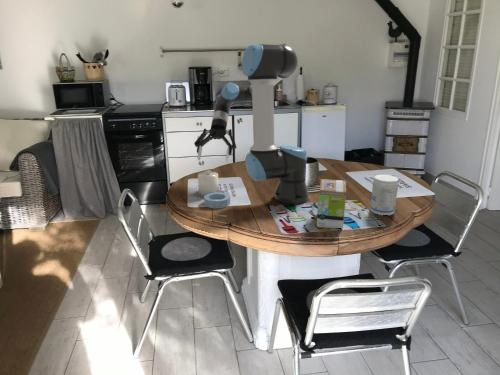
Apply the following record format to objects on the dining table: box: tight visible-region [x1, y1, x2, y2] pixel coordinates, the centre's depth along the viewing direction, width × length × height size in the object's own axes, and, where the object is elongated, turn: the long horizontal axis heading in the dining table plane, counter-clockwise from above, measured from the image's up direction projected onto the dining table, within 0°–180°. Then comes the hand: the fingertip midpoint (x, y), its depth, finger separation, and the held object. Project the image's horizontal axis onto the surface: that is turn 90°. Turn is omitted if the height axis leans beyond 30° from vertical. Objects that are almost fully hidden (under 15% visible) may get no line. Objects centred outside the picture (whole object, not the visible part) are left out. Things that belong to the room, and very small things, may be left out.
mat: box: [190, 189, 227, 199], centre depth 189 cm, size 12×12×1 cm
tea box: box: [316, 178, 347, 230], centre depth 158 cm, size 15×10×15 cm, turn 168°
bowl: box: [203, 192, 231, 209], centre depth 176 cm, size 11×11×4 cm
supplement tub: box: [369, 174, 399, 216], centre depth 167 cm, size 10×10×15 cm
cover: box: [197, 169, 219, 196], centre depth 188 cm, size 9×9×11 cm
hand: (212, 159), depth 195 cm, fingers open, 13 cm apart
